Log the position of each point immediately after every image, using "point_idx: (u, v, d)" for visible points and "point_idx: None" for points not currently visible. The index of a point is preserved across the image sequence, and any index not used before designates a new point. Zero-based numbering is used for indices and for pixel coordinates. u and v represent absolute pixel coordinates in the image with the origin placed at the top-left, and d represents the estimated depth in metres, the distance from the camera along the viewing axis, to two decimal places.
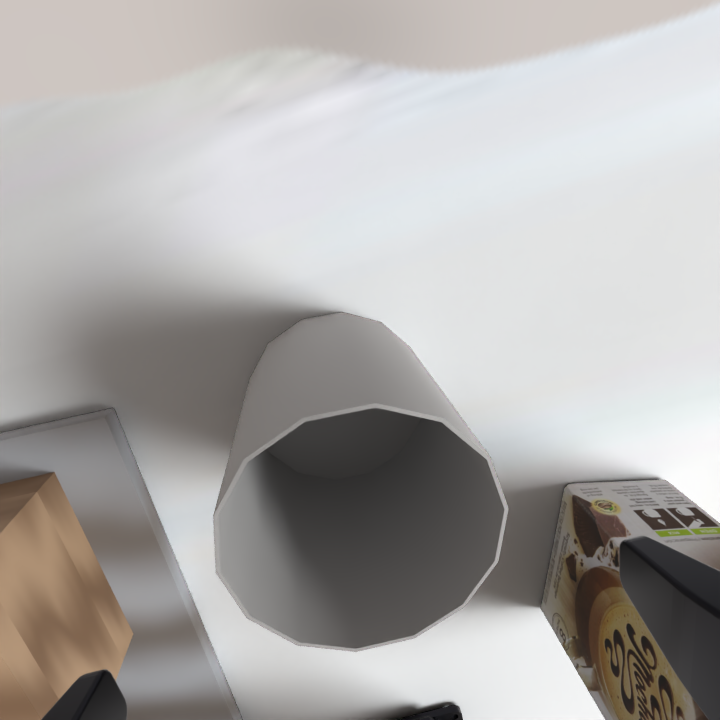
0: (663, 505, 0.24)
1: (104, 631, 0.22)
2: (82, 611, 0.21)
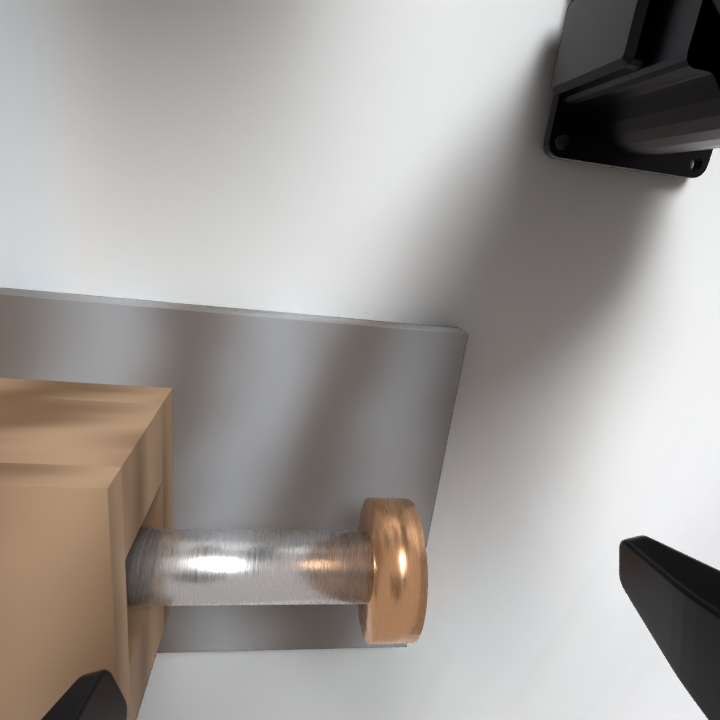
0: None
1: (88, 403, 0.16)
2: (13, 408, 0.15)
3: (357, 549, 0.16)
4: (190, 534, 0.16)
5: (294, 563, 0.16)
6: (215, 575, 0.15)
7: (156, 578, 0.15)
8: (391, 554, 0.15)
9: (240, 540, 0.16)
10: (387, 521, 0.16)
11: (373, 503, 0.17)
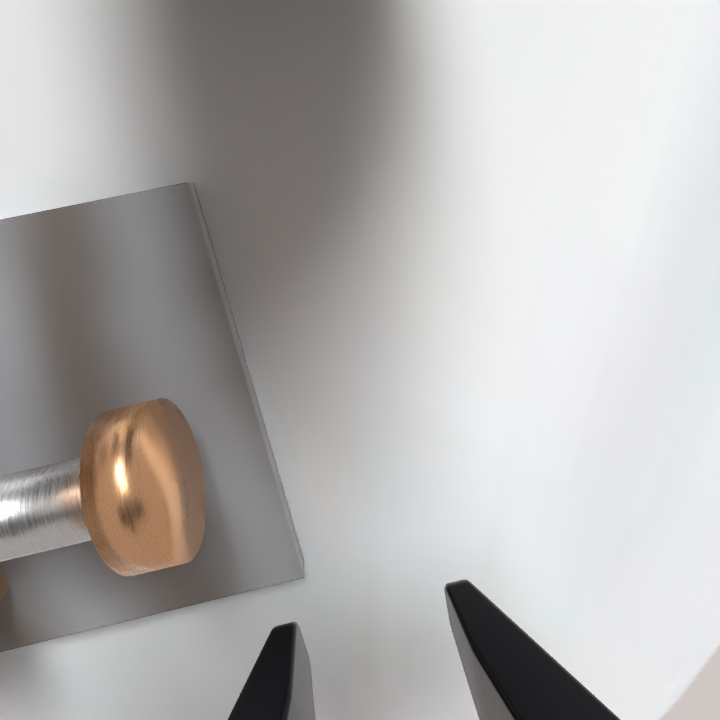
0: None
1: None
2: None
3: None
4: None
5: (5, 504, 0.13)
6: None
7: None
8: (93, 460, 0.12)
9: None
10: (101, 425, 0.13)
11: None
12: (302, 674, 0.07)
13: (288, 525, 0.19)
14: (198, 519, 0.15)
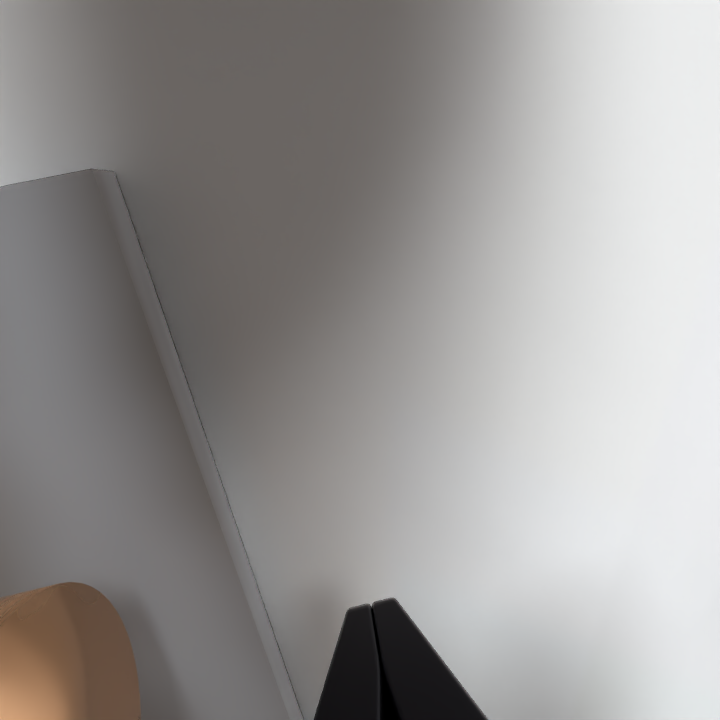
0: None
1: None
2: None
3: None
4: None
5: None
6: None
7: None
8: None
9: None
10: None
11: None
12: None
13: (287, 713, 0.12)
14: None
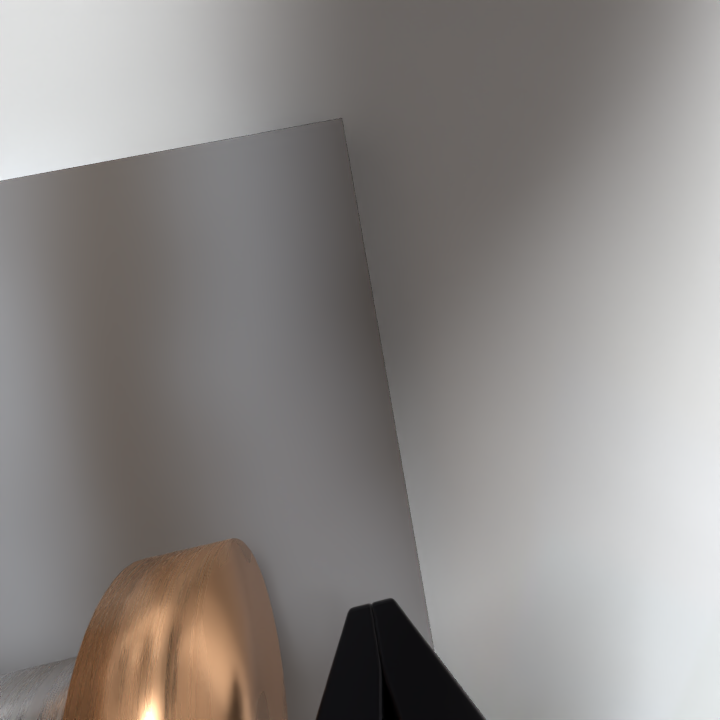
0: None
1: None
2: None
3: None
4: None
5: None
6: None
7: None
8: None
9: None
10: (107, 642, 0.06)
11: (113, 585, 0.07)
12: None
13: None
14: None
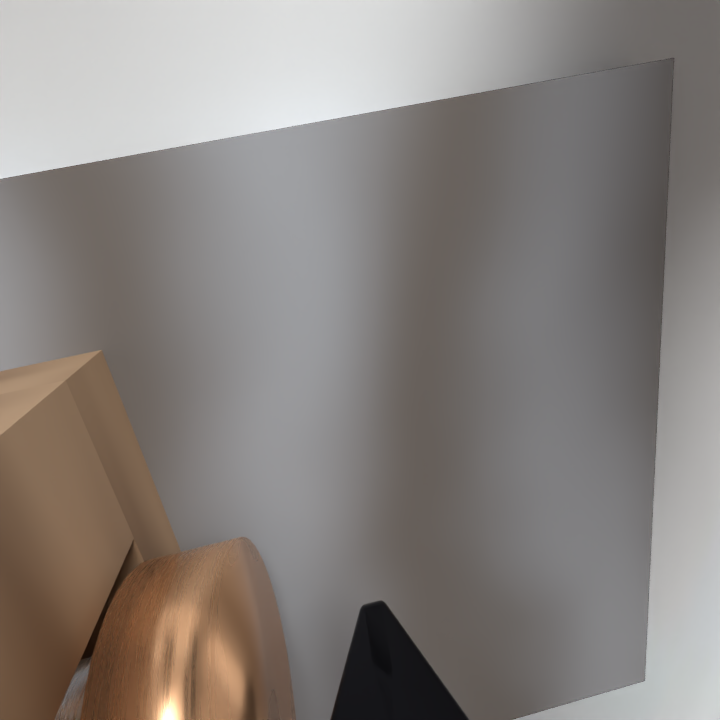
0: None
1: None
2: None
3: None
4: None
5: None
6: None
7: None
8: None
9: None
10: (121, 642, 0.06)
11: (123, 585, 0.07)
12: None
13: (646, 611, 0.13)
14: None
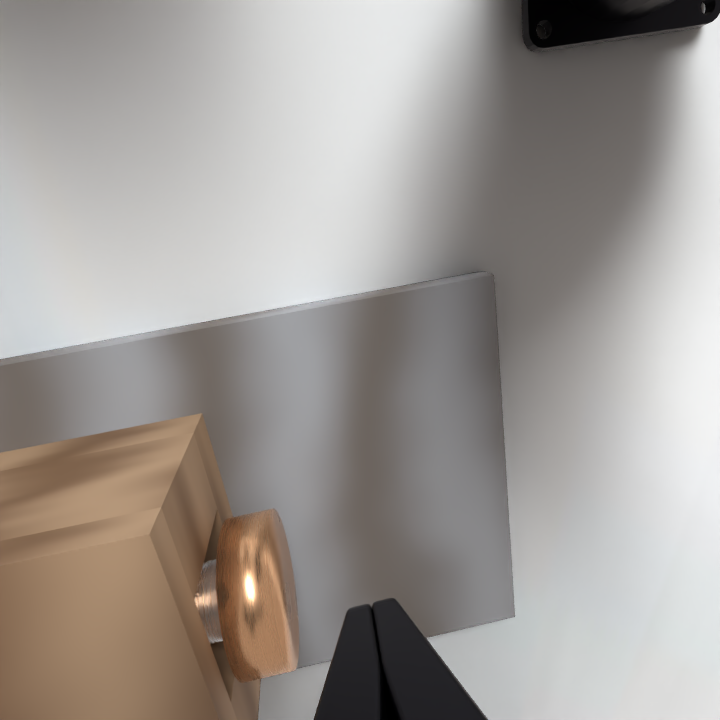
0: None
1: (121, 450, 0.15)
2: (49, 473, 0.14)
3: (210, 581, 0.14)
4: None
5: None
6: None
7: None
8: (228, 583, 0.13)
9: None
10: (228, 545, 0.14)
11: (223, 526, 0.15)
12: None
13: (511, 569, 0.21)
14: (295, 617, 0.16)
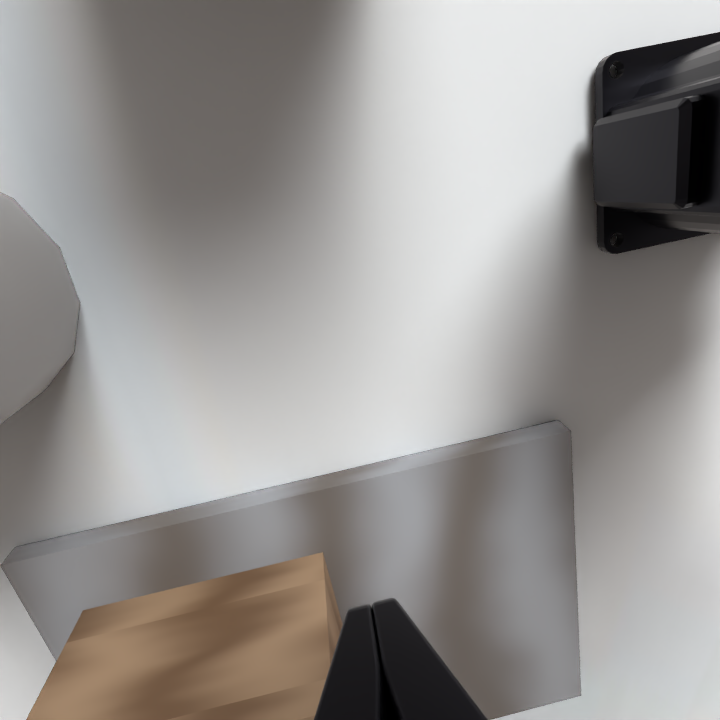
0: None
1: (267, 598, 0.18)
2: (214, 624, 0.17)
3: None
4: None
5: None
6: None
7: None
8: None
9: None
10: None
11: None
12: None
13: (578, 658, 0.24)
14: None
